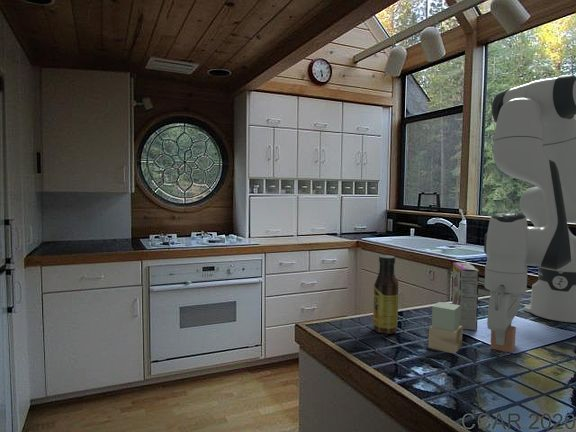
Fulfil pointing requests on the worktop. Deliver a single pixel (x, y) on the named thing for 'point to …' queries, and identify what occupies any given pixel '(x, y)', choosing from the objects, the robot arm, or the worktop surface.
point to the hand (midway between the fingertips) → (502, 339)
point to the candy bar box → (466, 293)
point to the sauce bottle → (386, 297)
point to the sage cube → (446, 316)
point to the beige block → (445, 339)
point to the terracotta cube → (509, 340)
